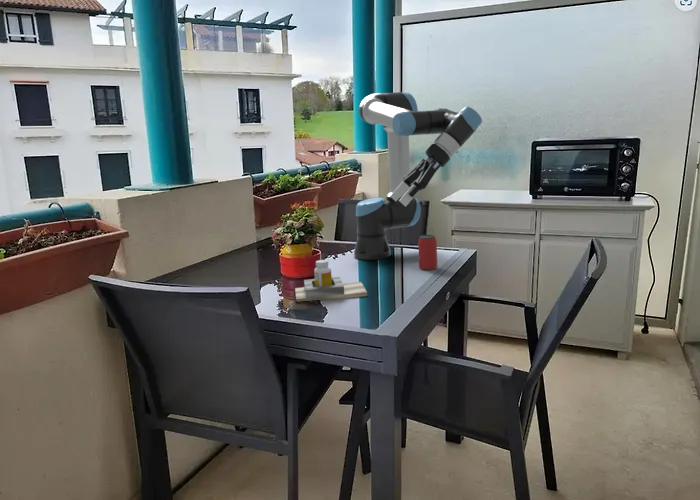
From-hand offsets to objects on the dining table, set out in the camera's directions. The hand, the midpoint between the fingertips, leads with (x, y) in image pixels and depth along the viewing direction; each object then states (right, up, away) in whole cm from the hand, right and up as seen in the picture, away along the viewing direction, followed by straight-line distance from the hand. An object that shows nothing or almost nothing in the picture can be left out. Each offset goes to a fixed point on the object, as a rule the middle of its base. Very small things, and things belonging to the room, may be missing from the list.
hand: (397, 201), depth 162 cm
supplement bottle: (-23, -29, 0) cm, 37 cm away
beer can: (+14, -22, +24) cm, 36 cm away
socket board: (-21, -30, 0) cm, 37 cm away
